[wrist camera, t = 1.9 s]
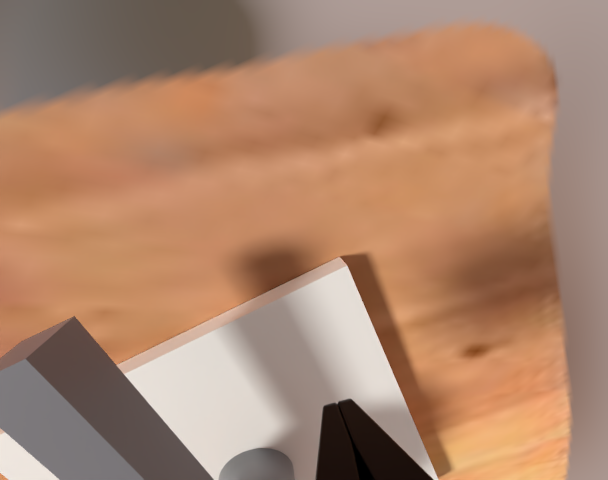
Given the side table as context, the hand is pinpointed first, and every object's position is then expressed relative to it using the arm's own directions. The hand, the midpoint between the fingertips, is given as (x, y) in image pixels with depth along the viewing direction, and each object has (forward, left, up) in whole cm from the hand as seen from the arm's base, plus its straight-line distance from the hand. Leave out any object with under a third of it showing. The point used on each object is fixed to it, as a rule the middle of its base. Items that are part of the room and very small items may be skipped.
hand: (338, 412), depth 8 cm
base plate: (-8, +6, -6) cm, 12 cm away
